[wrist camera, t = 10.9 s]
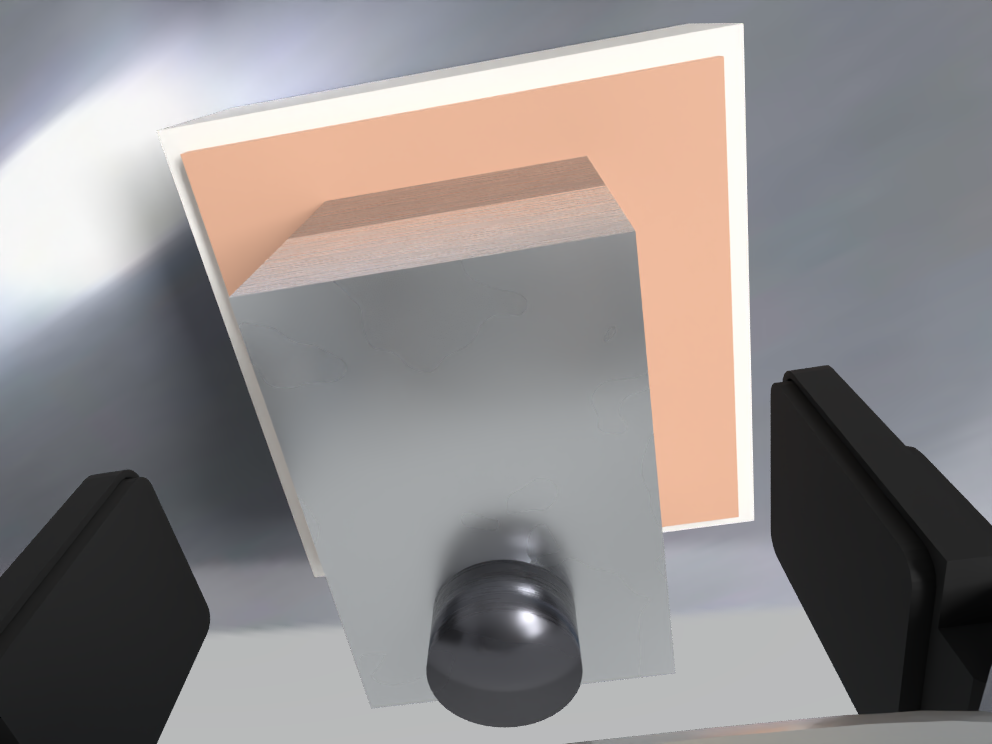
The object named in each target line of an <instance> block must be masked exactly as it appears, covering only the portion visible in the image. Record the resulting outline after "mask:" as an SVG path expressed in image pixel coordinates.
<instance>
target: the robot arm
mask: <svg viewBox="0 0 992 744" xmlns="http://www.w3.org/2000/svg"><path fill="white" fill-rule="evenodd" d="M771 537H772V543H773V547H774V550H775V553H776V555H777V558H778V560H779V562H780V564H781V566H782V568H783V569H784V571H785V573H786V575H787V577H788V579H789V581H790V583H791V585H792V587H793V589H794V591H795V593H796V595H797V596H798V598H799V600H800V602H801V604H802V606H803V608H804V610H805V612H806V614H807V616H808V618H809V620H810V621H811V624H812V625H813V627H814V629H815V631H816V633H817V635H818V637H819V639H820V641H821V643H822V645H823V647H824V649H825V651H826V652H827V654H828V656H829V658H830V660H831V662H832V664H833V666H834V668H835V670H836V672H837V674H838V675H839V677H840V680H841V681H842V683H843V685H844V687H845V689H846V691H847V693H848V695H849V697H850V699H851V701H852V703H853V704H854V706H855V708H856V710H857V712H858V714H859V715H843V716H832V717H822V718H809V719H799V720H788V721H779V722H768V723H758V724H747V725H736V726H726V727H715V728H704V729H695V730H686V731H677V732H669V733H660V734H650V735H641V736H632V737H623V738H613V739H604V740H595V741H586V742H577V743H568V744H992V525H991V524H990V523H989V522H988V521H987V520H986V519H985V518H984V517H983V516H982V515H981V514H980V513H979V512H978V511H977V510H976V509H975V508H974V507H973V505H972V504H971V503H970V502H969V501H968V500H967V499H966V498H965V497H964V496H963V495H962V494H961V493H960V492H959V491H958V490H957V489H956V488H955V487H954V486H953V485H952V484H951V483H950V482H949V481H948V480H947V479H946V478H945V476H944V475H943V474H942V473H941V472H940V471H939V470H938V469H937V468H936V467H935V466H934V465H933V464H932V463H931V462H930V461H929V460H928V459H927V458H926V457H925V456H924V455H923V454H922V453H921V452H920V451H918V450H917V449H916V448H914V447H909V446H905V445H904V444H903V443H902V442H901V441H900V439H899V438H898V437H897V436H896V435H895V434H894V433H893V432H892V431H891V430H890V429H889V428H888V427H887V426H886V425H885V424H884V423H883V421H882V420H881V419H880V418H879V417H878V416H877V415H876V414H875V413H874V412H873V411H872V410H871V409H870V408H869V407H868V406H867V404H866V403H865V402H864V401H863V400H862V399H861V398H860V397H859V396H858V395H857V394H856V393H855V392H854V391H853V390H852V389H851V388H850V386H849V385H848V384H847V383H846V382H845V381H844V380H843V379H842V378H841V377H840V376H839V375H838V374H837V373H836V372H835V371H834V369H833V368H831V367H830V366H828V365H826V366H818V367H812V368H805V369H798V370H791V371H787V372H786V373H785V374H784V377H783V382H779V383H774V384H773V385H772V388H771ZM209 625H210V613H209V608H208V605H207V603H206V601H205V599H204V597H203V595H202V592H201V590H200V588H199V586H198V584H197V582H196V579H195V577H194V575H193V573H192V571H191V569H190V567H189V564H188V562H187V560H186V558H185V556H184V554H183V551H182V549H181V547H180V545H179V543H178V541H177V538H176V536H175V534H174V532H173V530H172V528H171V526H170V523H169V521H168V519H167V517H166V515H165V513H164V510H163V508H162V506H161V504H160V502H159V500H158V497H157V495H156V493H155V491H154V489H153V487H152V485H151V483H150V482H149V480H147V479H146V478H144V477H139V476H138V475H137V474H136V473H135V472H134V471H132V470H122V471H115V472H109V473H102V474H95V475H91V476H89V477H88V478H86V479H85V480H84V481H83V482H82V484H81V485H80V486H79V487H78V488H77V489H76V491H75V492H74V493H73V494H72V495H71V496H70V498H69V499H68V500H67V501H66V502H65V503H64V504H63V506H62V507H61V508H60V509H59V510H58V511H57V513H56V514H55V515H54V516H53V517H52V518H51V519H50V521H49V522H48V523H47V524H46V525H45V526H44V528H43V529H42V530H41V531H40V532H39V533H38V534H37V536H36V537H35V538H34V539H33V540H32V541H31V543H30V544H29V545H28V546H27V547H26V548H25V549H24V551H23V552H22V553H21V554H20V555H19V556H18V558H17V559H16V560H15V561H14V562H13V563H12V564H11V566H10V567H9V568H8V569H7V570H6V571H5V573H4V574H3V575H2V576H1V577H0V744H157V742H158V740H159V737H160V735H161V733H162V731H163V728H164V726H165V724H166V722H167V720H168V718H169V716H170V713H171V711H172V709H173V707H174V705H175V702H176V700H177V698H178V696H179V694H180V691H181V689H182V687H183V685H184V683H185V681H186V678H187V676H188V674H189V672H190V670H191V667H192V665H193V663H194V661H195V659H196V657H197V654H198V652H199V650H200V648H201V646H202V643H203V641H204V639H205V637H206V635H207V632H208V629H209Z"/></svg>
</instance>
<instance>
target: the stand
mask: <svg viewBox="0 0 992 744" xmlns="http://www.w3.org/2000/svg"><path fill="white" fill-rule="evenodd" d="M157 134H158V137H159V140H160V142H161V145H162V148H163V151H164V154H165V156H166V159H167V162H168V165H169V168H170V171H171V173H172V176H173V179H174V182H175V185H176V188H177V190H178V193H179V196H180V199H181V202H182V204H183V207H184V210H185V213H186V216H187V219H188V221H189V224H190V227H191V230H192V233H193V236H194V238H195V241H196V244H197V247H198V250H199V252H200V255H201V258H202V261H203V264H204V267H205V269H206V272H207V275H208V278H209V281H210V284H211V286H212V289H213V292H214V295H215V298H216V300H217V303H218V306H219V309H220V312H221V315H222V317H223V320H224V323H225V326H226V329H227V332H228V334H229V337H230V340H231V343H232V346H233V348H234V351H235V354H236V357H237V360H238V363H239V365H240V368H241V371H242V374H243V377H244V380H245V382H246V385H247V388H248V391H249V394H250V396H251V399H252V402H253V405H254V408H255V411H256V413H257V416H258V419H259V422H260V425H261V428H262V430H263V433H264V436H265V439H266V442H267V444H268V447H269V450H270V453H271V456H272V459H273V461H274V464H275V467H276V470H277V473H278V476H279V478H280V481H281V484H282V487H283V490H284V492H285V495H286V498H287V501H288V504H289V507H290V509H291V512H292V515H293V518H294V521H295V524H296V526H297V529H298V532H299V535H300V538H301V540H302V543H303V546H304V549H305V552H306V555H307V557H308V560H309V563H310V566H311V569H312V572H313V574H314V577H323V576H325V574H324V571H323V568H322V565H321V562H320V559H319V557H318V554H317V551H316V548H315V545H314V542H313V539H312V536H311V534H310V531H309V528H308V525H307V522H306V519H305V516H304V513H303V511H302V508H301V505H300V502H299V499H298V496H297V493H296V490H295V488H294V485H293V482H292V479H291V476H290V473H289V470H288V467H287V464H286V462H285V459H284V456H283V453H282V450H281V447H280V444H279V441H278V439H277V436H276V433H275V430H274V427H273V424H272V421H271V418H270V416H269V413H268V410H267V407H266V404H265V401H264V398H263V395H262V393H261V390H260V387H259V384H258V381H257V378H256V375H255V372H254V369H253V367H252V364H251V361H250V358H249V355H248V352H247V349H246V346H245V344H244V341H243V338H242V335H241V332H240V329H239V326H238V323H237V321H236V318H235V315H234V312H233V309H232V306H231V303H230V300H229V297H230V296H231V295H232V294H233V293H234V292H235V291H236V290H237V289H238V288H239V287H240V286H241V285H242V284H243V283H244V282H245V281H246V280H247V279H248V278H249V277H250V276H251V275H252V274H253V273H254V272H255V271H256V270H257V269H258V268H259V267H260V266H261V265H262V264H263V263H264V262H265V261H266V260H267V259H268V258H269V257H270V256H271V255H272V254H273V253H274V252H275V251H276V250H277V249H278V248H279V247H280V246H281V245H282V244H283V243H284V242H285V241H286V240H287V239H288V238H289V237H290V236H291V235H292V234H293V233H294V232H295V231H296V230H297V229H298V228H299V227H300V226H301V225H302V224H303V223H304V222H305V221H306V220H307V219H308V218H309V217H310V216H311V215H312V214H313V213H314V212H315V211H316V210H317V209H318V208H319V207H320V206H321V205H322V204H323V203H324V202H325V201H329V200H335V199H340V198H346V197H352V196H358V195H364V194H369V193H375V192H381V191H387V190H392V189H398V188H404V187H410V186H415V185H421V184H427V183H433V182H439V181H444V180H450V179H456V178H462V177H467V176H473V175H479V174H485V173H491V172H496V171H502V170H508V169H514V168H519V167H525V166H531V165H537V164H542V163H548V162H554V161H560V160H566V159H571V158H577V157H583V156H587V157H588V158H589V160H590V162H591V163H592V165H593V166H594V168H595V169H596V171H597V172H598V174H599V175H600V177H601V179H602V180H603V182H604V183H605V185H606V186H607V188H608V189H609V191H610V192H611V194H612V196H613V197H614V199H615V200H616V202H617V203H618V205H619V206H620V208H621V209H622V211H623V213H624V214H625V216H626V217H627V219H628V220H629V222H630V223H631V225H632V226H633V228H634V230H635V232H636V243H637V254H638V265H639V276H640V287H641V298H642V309H643V320H644V332H645V343H646V354H647V365H648V376H649V387H650V398H651V409H652V420H653V432H654V443H655V454H656V465H657V476H658V487H659V498H660V509H661V520H662V532H669V531H677V530H685V529H693V528H700V527H708V526H716V525H723V524H731V523H739V522H746V521H754V494H753V448H752V402H751V355H750V309H749V262H748V216H747V169H746V123H745V76H744V30H743V23H708V24H684V25H679V26H673V27H668V28H662V29H657V30H651V31H646V32H641V33H635V34H630V35H624V36H619V37H614V38H608V39H603V40H597V41H592V42H586V43H581V44H576V45H570V46H565V47H559V48H554V49H548V50H543V51H538V52H532V53H527V54H521V55H516V56H511V57H505V58H500V59H494V60H489V61H483V62H478V63H473V64H467V65H462V66H456V67H451V68H445V69H440V70H435V71H429V72H424V73H418V74H413V75H408V76H402V77H397V78H391V79H386V80H380V81H375V82H370V83H364V84H359V85H353V86H348V87H342V88H337V89H332V90H326V91H321V92H315V93H310V94H305V95H299V96H294V97H288V98H283V99H277V100H272V101H267V102H261V103H256V104H250V105H245V106H239V107H234V108H230V109H226V110H223V111H220V112H217V113H213V114H210V115H207V116H203V117H200V118H197V119H194V120H190V121H187V122H184V123H181V124H177V125H174V126H171V127H167V128H164V129H161V130H158V131H157Z"/></svg>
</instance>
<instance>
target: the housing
mask: <svg viewBox="0 0 992 744" xmlns="http://www.w3.org/2000/svg"><path fill="white" fill-rule="evenodd" d="M229 300H230V303H231V306H232V309H233V312H234V315H235V318H236V321H237V323H238V326H239V329H240V332H241V335H242V338H243V341H244V344H245V346H246V349H247V352H248V355H249V358H250V361H251V364H252V367H253V369H254V372H255V375H256V378H257V381H258V384H259V387H260V390H261V393H262V395H263V398H264V401H265V404H266V407H267V410H268V413H269V416H270V418H271V421H272V424H273V427H274V430H275V433H276V436H277V439H278V441H279V444H280V447H281V450H282V453H283V456H284V459H285V462H286V464H287V467H288V470H289V473H290V476H291V479H292V482H293V485H294V488H295V490H296V493H297V496H298V499H299V502H300V505H301V508H302V511H303V513H304V516H305V519H306V522H307V525H308V528H309V531H310V534H311V536H312V539H313V542H314V545H315V548H316V551H317V554H318V557H319V559H320V562H321V565H322V568H323V571H324V574H325V577H326V580H327V583H328V585H329V588H330V591H331V594H332V597H333V600H334V603H335V606H336V608H337V611H338V614H339V617H340V620H341V623H342V626H343V629H344V631H345V634H346V637H347V640H348V643H349V646H350V649H351V652H352V655H353V657H354V660H355V663H356V666H357V669H358V672H359V675H360V678H361V680H362V683H363V686H364V689H365V692H366V695H367V698H368V700H369V703H370V706H371V708H379V707H387V706H396V705H405V704H414V703H423V702H431V701H439V702H440V703H441V704H442V705H443V706H444V707H445V708H446V709H448V710H449V711H451V712H452V713H454V714H455V715H457V716H459V717H461V718H463V719H465V720H468V721H470V722H473V723H477V724H481V725H485V726H492V727H517V726H524V725H529V724H533V723H536V722H539V721H542V720H544V719H546V718H548V717H551V716H553V715H554V714H556V713H557V712H559V711H560V710H561V709H563V708H564V707H565V706H566V705H567V704H568V703H569V702H570V701H571V700H572V698H573V697H574V696H575V694H576V693H577V691H578V689H579V687H580V684H587V683H596V682H605V681H613V680H622V679H630V678H639V677H648V676H657V675H666V674H674V673H675V665H674V654H673V643H672V632H671V620H670V609H669V598H668V587H667V576H666V565H665V554H664V543H663V532H662V520H661V509H660V498H659V487H658V476H657V465H656V454H655V443H654V432H653V420H652V409H651V398H650V387H649V376H648V365H647V354H646V343H645V332H644V320H643V309H642V298H641V287H640V276H639V265H638V254H637V243H636V232H635V230H634V228H633V226H632V225H631V223H630V222H629V220H628V219H627V217H626V216H625V214H624V213H623V211H622V209H621V208H620V206H619V205H618V203H617V202H616V200H615V199H614V197H613V196H612V194H611V192H610V191H609V189H608V188H607V186H606V185H605V183H604V182H603V180H602V179H601V177H600V175H599V174H598V172H597V171H596V169H595V168H594V166H593V165H592V163H591V162H590V160H589V158H588V157H587V156H583V157H577V158H571V159H566V160H560V161H554V162H548V163H542V164H537V165H531V166H525V167H519V168H514V169H508V170H502V171H496V172H491V173H485V174H479V175H473V176H467V177H462V178H456V179H450V180H444V181H439V182H433V183H427V184H421V185H415V186H410V187H404V188H398V189H392V190H387V191H381V192H375V193H369V194H364V195H358V196H352V197H346V198H340V199H335V200H329V201H325V202H324V203H323V204H322V205H321V206H320V207H319V208H318V209H317V210H316V211H315V212H314V213H313V214H312V215H311V216H310V217H309V218H308V219H307V220H306V221H305V222H304V223H303V224H302V225H301V226H300V227H299V228H298V229H297V230H296V231H295V232H294V233H293V234H292V235H291V236H290V237H289V238H288V239H287V240H286V241H285V242H284V243H283V244H282V245H281V246H280V247H279V248H278V249H277V250H276V251H275V252H274V253H273V254H272V255H271V256H270V257H269V258H268V259H267V260H266V261H265V262H264V263H263V264H262V265H261V266H260V267H259V268H258V269H257V270H256V271H255V272H254V273H253V274H252V275H251V276H250V277H249V278H248V279H247V280H246V281H245V282H244V283H243V284H242V285H241V286H240V287H239V288H238V289H237V290H236V291H235V292H234V293H233V294H232V295H231V296H230V297H229Z"/></svg>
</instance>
